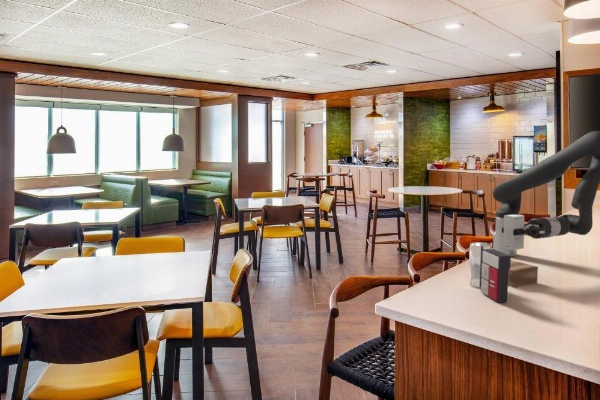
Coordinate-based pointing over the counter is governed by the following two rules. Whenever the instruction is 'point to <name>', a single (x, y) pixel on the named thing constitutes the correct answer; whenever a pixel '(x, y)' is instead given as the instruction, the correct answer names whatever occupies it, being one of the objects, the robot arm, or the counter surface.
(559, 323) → the counter surface
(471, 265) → the beer glass
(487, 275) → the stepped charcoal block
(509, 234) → the skincare box
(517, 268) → the walnut block
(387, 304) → the counter surface
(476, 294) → the counter surface
